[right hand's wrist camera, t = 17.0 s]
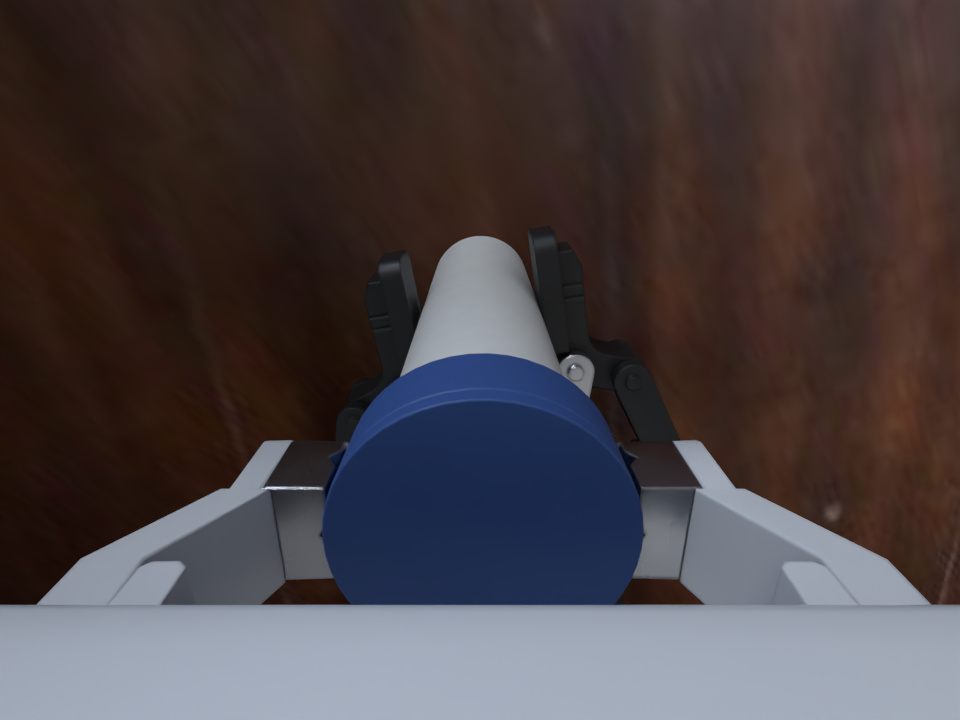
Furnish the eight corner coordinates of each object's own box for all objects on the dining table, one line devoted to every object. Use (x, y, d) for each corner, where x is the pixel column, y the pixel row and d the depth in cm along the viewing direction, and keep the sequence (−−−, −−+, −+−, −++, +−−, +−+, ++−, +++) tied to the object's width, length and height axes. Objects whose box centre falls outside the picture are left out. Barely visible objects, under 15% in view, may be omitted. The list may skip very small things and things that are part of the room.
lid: (390, 598, 11) (374, 681, 10) (310, 383, 9) (274, 437, 8) (631, 557, 11) (659, 634, 9) (596, 323, 9) (623, 366, 7)
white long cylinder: (417, 264, 24) (310, 478, 9) (499, 218, 23) (536, 364, 8) (463, 341, 25) (440, 642, 10) (542, 299, 24) (644, 556, 9)
